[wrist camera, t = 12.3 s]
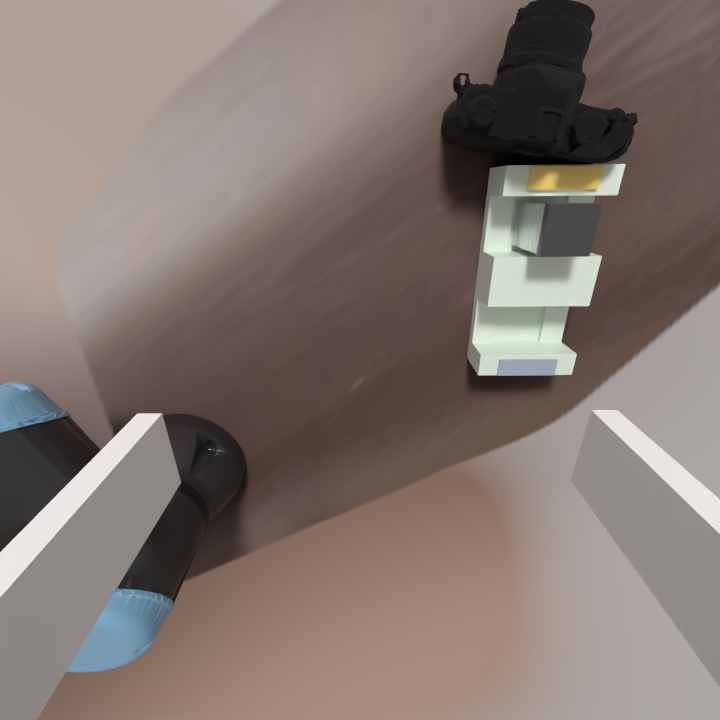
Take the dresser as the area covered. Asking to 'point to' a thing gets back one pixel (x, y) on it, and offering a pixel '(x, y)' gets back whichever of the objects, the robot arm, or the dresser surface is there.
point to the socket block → (531, 273)
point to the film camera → (540, 95)
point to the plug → (556, 228)
